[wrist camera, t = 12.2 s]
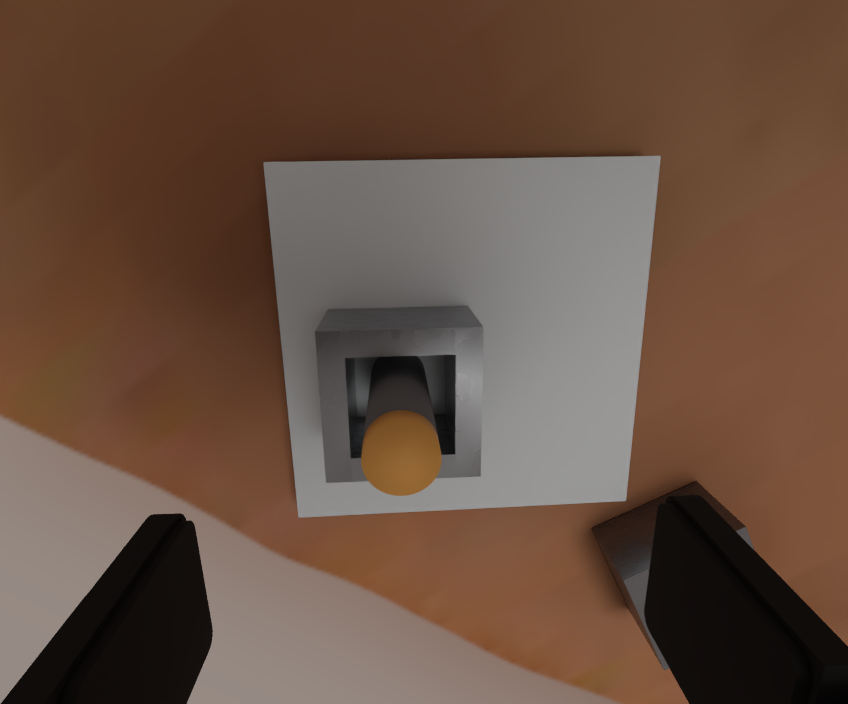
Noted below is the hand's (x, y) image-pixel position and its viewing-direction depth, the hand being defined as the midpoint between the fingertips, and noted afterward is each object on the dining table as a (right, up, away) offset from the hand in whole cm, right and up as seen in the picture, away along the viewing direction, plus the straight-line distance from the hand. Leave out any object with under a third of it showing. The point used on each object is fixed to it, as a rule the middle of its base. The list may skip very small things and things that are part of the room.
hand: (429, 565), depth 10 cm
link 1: (-1, +3, +13) cm, 13 cm away
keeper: (+2, +5, +14) cm, 15 cm away
